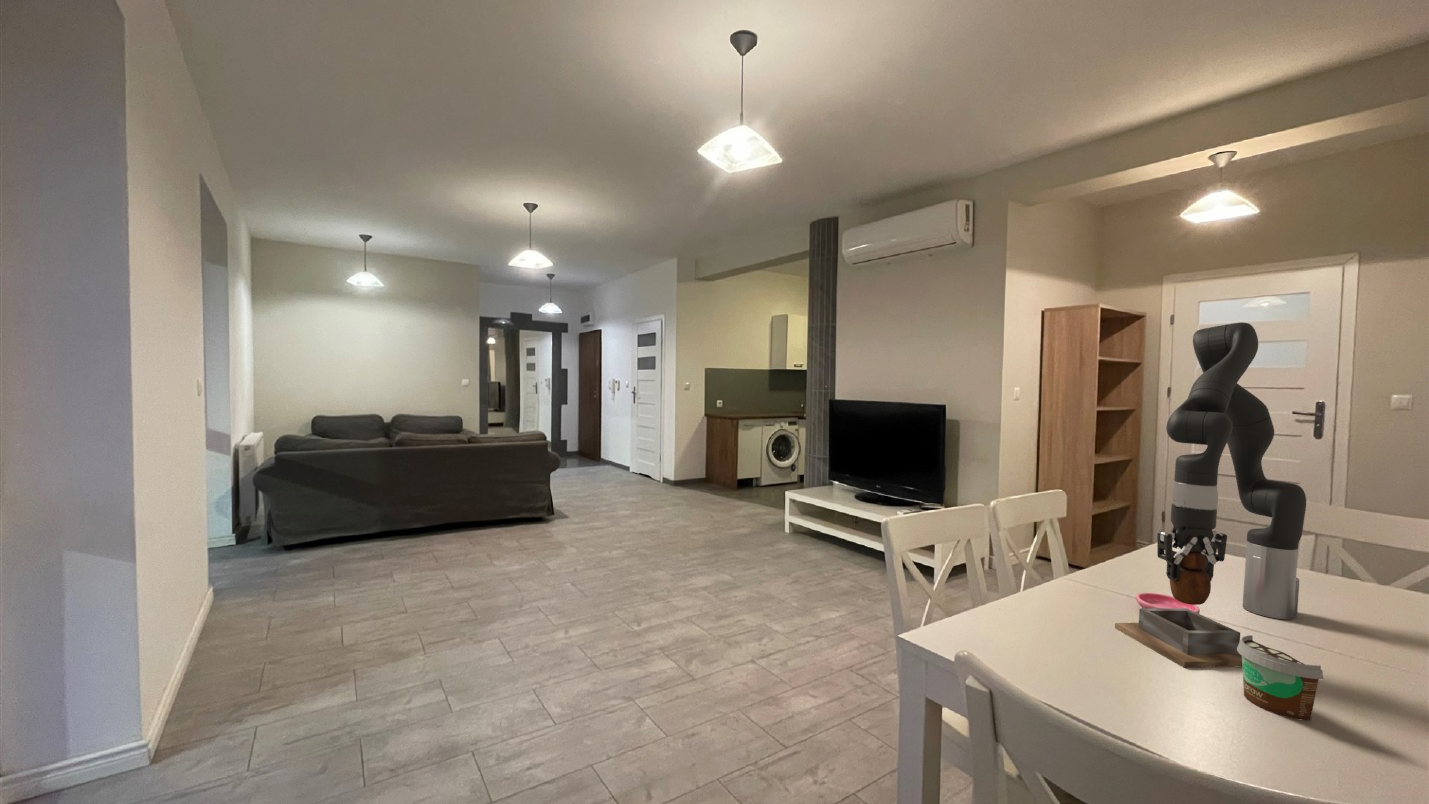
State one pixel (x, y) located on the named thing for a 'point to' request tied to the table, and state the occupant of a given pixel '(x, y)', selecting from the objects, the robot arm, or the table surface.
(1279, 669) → the food container
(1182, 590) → the wooden figurine
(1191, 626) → the collar board
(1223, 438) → the robot arm
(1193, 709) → the table surface
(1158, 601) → the saucer
